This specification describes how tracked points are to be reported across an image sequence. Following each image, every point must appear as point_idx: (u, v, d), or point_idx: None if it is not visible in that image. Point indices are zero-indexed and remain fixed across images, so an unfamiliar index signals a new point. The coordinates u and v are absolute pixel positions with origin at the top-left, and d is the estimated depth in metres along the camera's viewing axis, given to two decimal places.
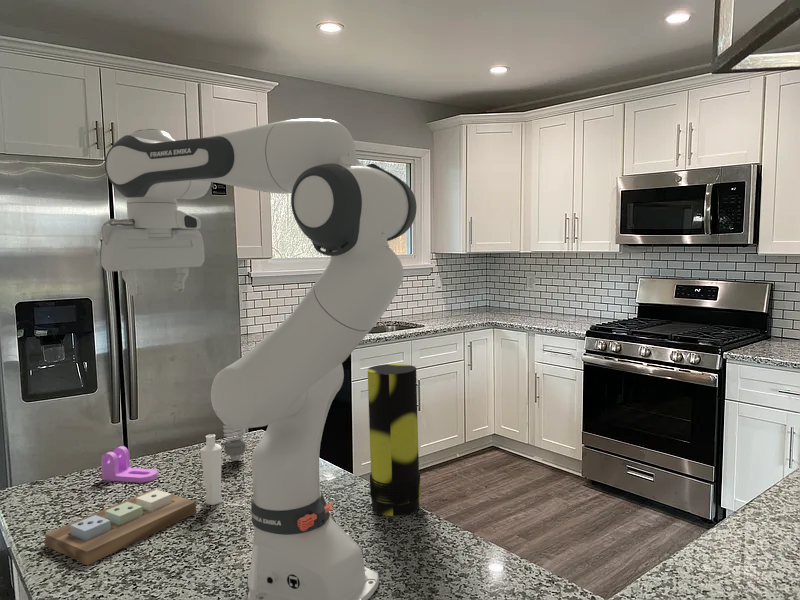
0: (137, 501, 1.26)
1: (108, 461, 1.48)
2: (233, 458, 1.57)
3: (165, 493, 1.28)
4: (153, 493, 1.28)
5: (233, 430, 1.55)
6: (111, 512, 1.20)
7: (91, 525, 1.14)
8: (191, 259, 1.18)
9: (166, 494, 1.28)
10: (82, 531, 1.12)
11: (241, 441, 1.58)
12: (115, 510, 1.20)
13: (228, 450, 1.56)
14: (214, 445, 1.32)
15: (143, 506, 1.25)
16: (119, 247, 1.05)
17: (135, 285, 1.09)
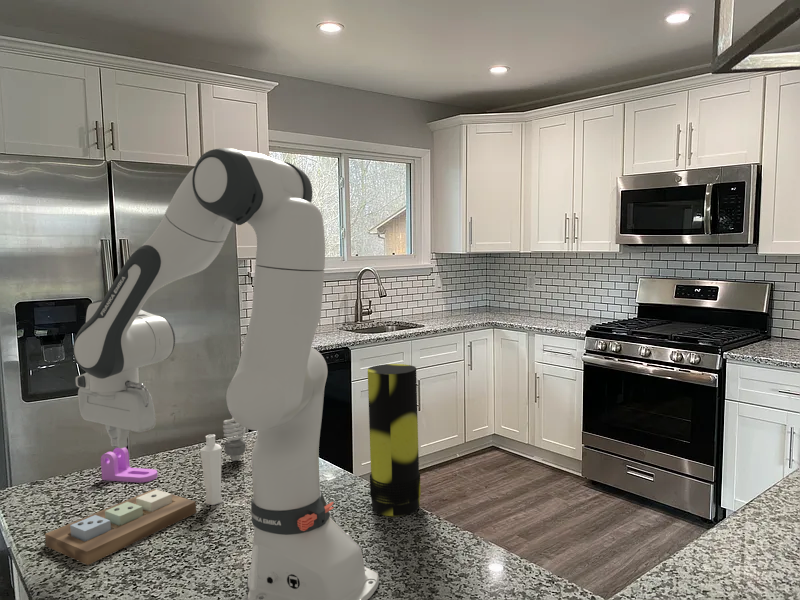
0: (137, 501, 1.26)
1: (108, 461, 1.48)
2: (233, 458, 1.57)
3: (165, 493, 1.28)
4: (153, 493, 1.28)
5: (233, 430, 1.55)
6: (111, 512, 1.20)
7: (91, 525, 1.14)
8: None
9: (166, 494, 1.28)
10: (82, 531, 1.12)
11: (241, 441, 1.58)
12: (115, 510, 1.20)
13: (228, 450, 1.56)
14: (214, 445, 1.32)
15: (143, 506, 1.25)
16: None
17: None
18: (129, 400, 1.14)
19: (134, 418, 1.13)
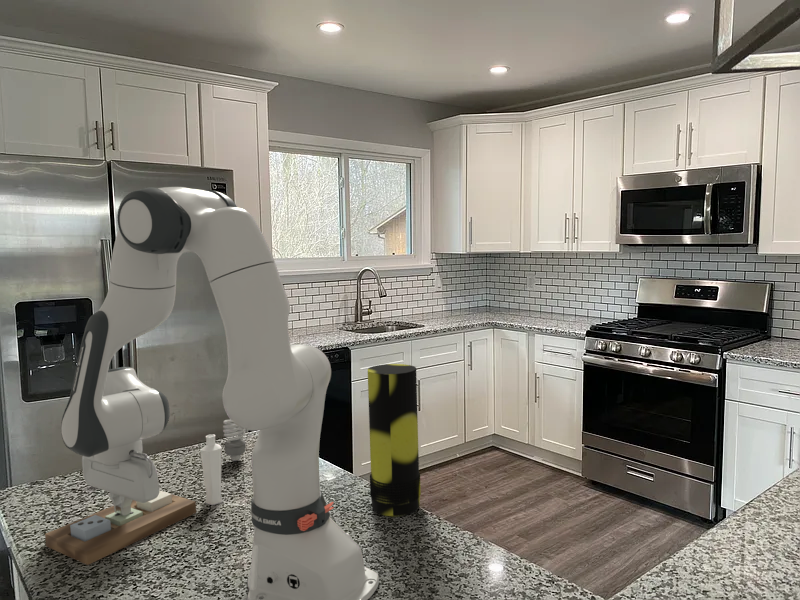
0: (137, 501, 1.26)
1: None
2: (233, 458, 1.57)
3: (165, 493, 1.28)
4: None
5: (233, 430, 1.55)
6: (111, 517, 1.20)
7: (91, 525, 1.14)
8: None
9: (166, 494, 1.28)
10: (82, 531, 1.12)
11: (241, 441, 1.58)
12: (115, 515, 1.20)
13: (228, 450, 1.56)
14: (214, 445, 1.32)
15: (143, 506, 1.25)
16: None
17: None
18: (133, 471, 1.15)
19: (138, 489, 1.15)
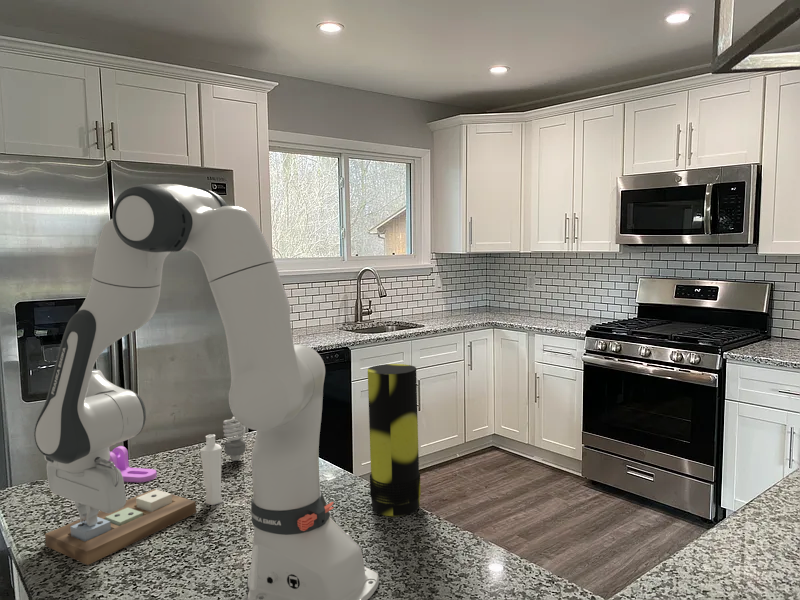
0: (137, 501, 1.26)
1: None
2: (233, 458, 1.57)
3: (165, 493, 1.28)
4: (153, 493, 1.28)
5: (233, 430, 1.55)
6: (111, 518, 1.20)
7: (91, 526, 1.14)
8: None
9: (166, 494, 1.28)
10: (82, 532, 1.12)
11: (241, 441, 1.58)
12: (115, 516, 1.20)
13: (228, 450, 1.56)
14: (214, 445, 1.32)
15: (143, 506, 1.25)
16: None
17: (96, 513, 1.15)
18: (98, 480, 1.09)
19: (103, 498, 1.08)
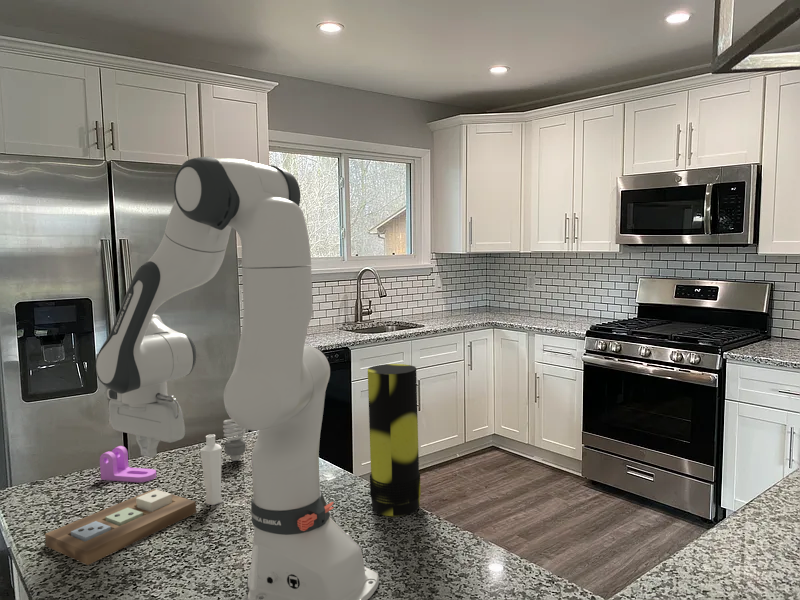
0: (137, 501, 1.26)
1: (107, 461, 1.48)
2: (233, 458, 1.57)
3: (165, 493, 1.28)
4: (153, 493, 1.28)
5: (233, 430, 1.55)
6: (111, 518, 1.20)
7: (91, 531, 1.14)
8: None
9: (166, 494, 1.28)
10: (83, 537, 1.12)
11: (241, 441, 1.58)
12: (115, 516, 1.20)
13: (228, 450, 1.56)
14: (214, 445, 1.32)
15: (143, 506, 1.25)
16: None
17: None
18: (160, 412, 1.20)
19: (165, 429, 1.19)
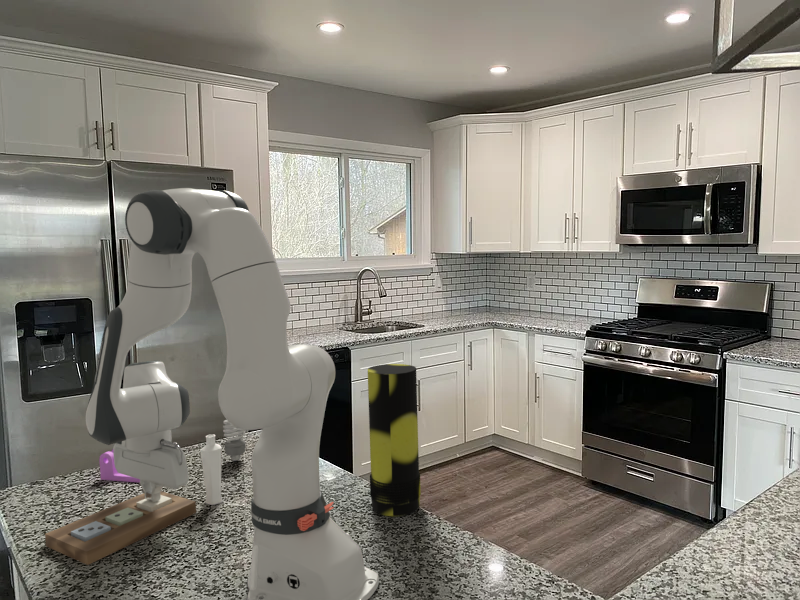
0: (137, 505, 1.26)
1: (106, 461, 1.48)
2: (233, 458, 1.57)
3: (165, 497, 1.28)
4: None
5: (233, 430, 1.55)
6: (111, 518, 1.20)
7: (91, 531, 1.14)
8: None
9: (166, 498, 1.28)
10: (83, 537, 1.12)
11: (241, 441, 1.58)
12: (115, 516, 1.20)
13: (228, 450, 1.56)
14: (214, 445, 1.32)
15: None
16: None
17: None
18: (164, 459, 1.21)
19: (169, 476, 1.20)
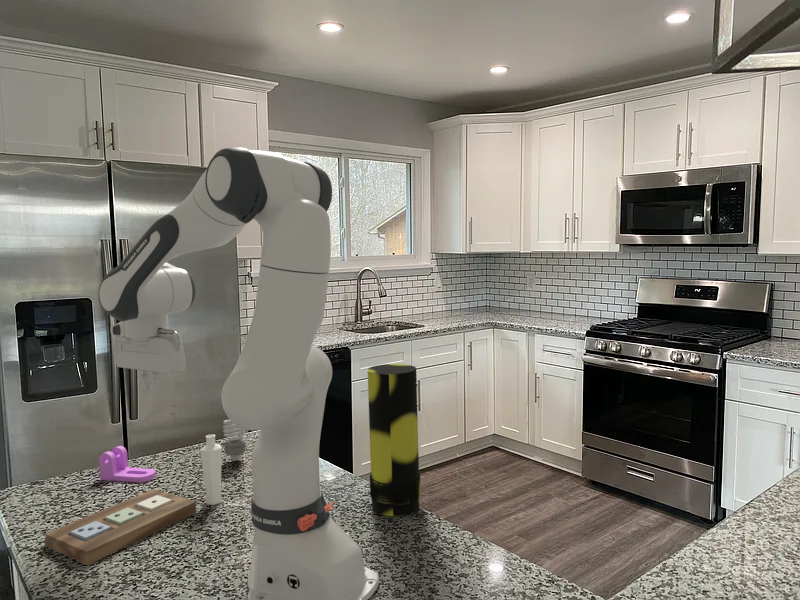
0: (137, 507, 1.26)
1: (106, 461, 1.48)
2: (233, 458, 1.57)
3: (165, 499, 1.28)
4: (153, 499, 1.28)
5: (233, 430, 1.55)
6: (111, 518, 1.20)
7: (91, 531, 1.14)
8: None
9: (167, 500, 1.28)
10: (83, 537, 1.12)
11: (241, 441, 1.58)
12: (115, 516, 1.20)
13: (228, 450, 1.56)
14: (214, 445, 1.32)
15: None
16: None
17: None
18: (162, 344, 1.24)
19: (166, 360, 1.24)
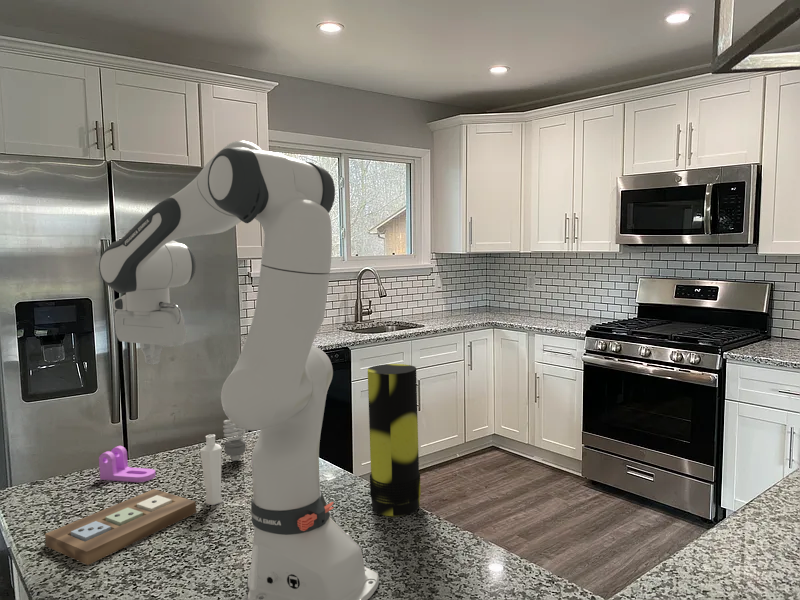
0: (137, 507, 1.26)
1: (106, 461, 1.49)
2: (233, 458, 1.57)
3: (165, 499, 1.28)
4: (153, 499, 1.28)
5: (233, 430, 1.55)
6: (111, 518, 1.20)
7: (91, 531, 1.14)
8: None
9: (167, 500, 1.28)
10: (83, 537, 1.12)
11: (241, 441, 1.58)
12: (115, 516, 1.20)
13: (228, 450, 1.56)
14: (214, 445, 1.32)
15: None
16: None
17: None
18: (163, 318, 1.26)
19: (167, 333, 1.26)
